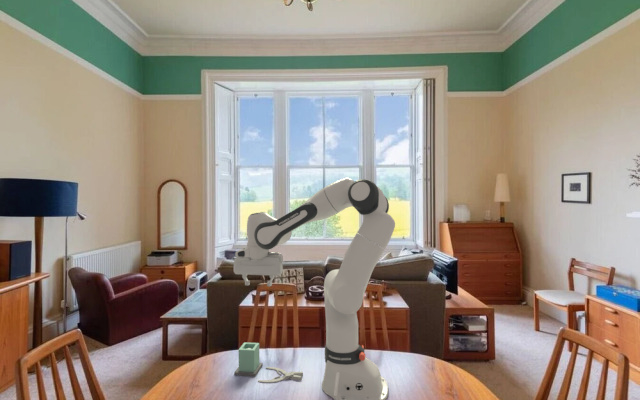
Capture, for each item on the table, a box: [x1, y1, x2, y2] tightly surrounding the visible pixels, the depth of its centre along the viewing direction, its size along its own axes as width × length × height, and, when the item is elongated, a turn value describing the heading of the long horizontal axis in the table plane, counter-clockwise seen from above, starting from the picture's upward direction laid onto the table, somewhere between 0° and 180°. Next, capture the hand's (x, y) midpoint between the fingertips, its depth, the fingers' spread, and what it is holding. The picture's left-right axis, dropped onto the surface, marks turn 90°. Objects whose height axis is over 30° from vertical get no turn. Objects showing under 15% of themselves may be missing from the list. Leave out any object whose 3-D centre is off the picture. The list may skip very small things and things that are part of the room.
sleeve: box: [238, 341, 260, 372], centre depth 124 cm, size 6×6×8 cm
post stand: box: [234, 348, 264, 378], centre depth 124 cm, size 8×8×8 cm
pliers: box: [257, 366, 304, 384], centre depth 120 cm, size 10×2×15 cm
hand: (258, 285), depth 135 cm, fingers open, 8 cm apart
